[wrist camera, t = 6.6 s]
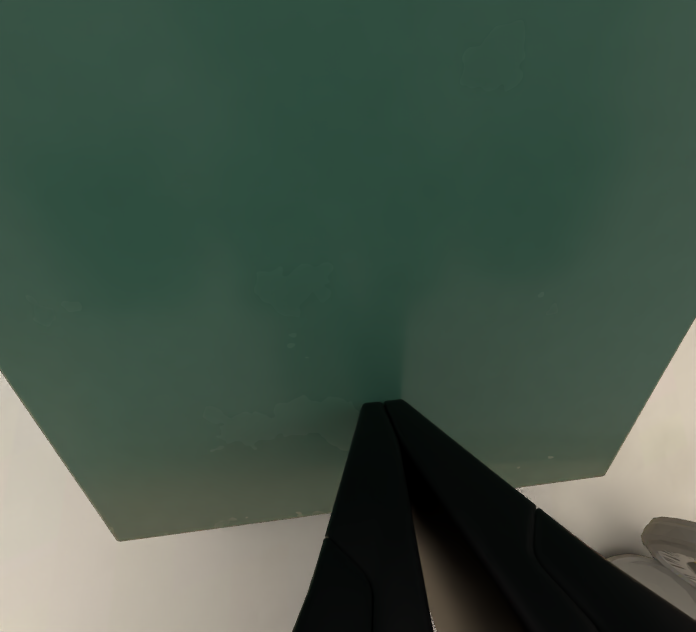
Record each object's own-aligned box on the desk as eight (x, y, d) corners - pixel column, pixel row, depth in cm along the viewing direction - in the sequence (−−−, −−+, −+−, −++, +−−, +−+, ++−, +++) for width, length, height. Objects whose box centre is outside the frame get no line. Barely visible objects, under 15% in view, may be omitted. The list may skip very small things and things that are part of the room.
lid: (-772, -964, 2) (-1230, -1400, 2) (1146, -648, 3) (1354, -814, 3) (127, 511, 10) (116, 543, 10) (587, 452, 12) (605, 477, 11)
